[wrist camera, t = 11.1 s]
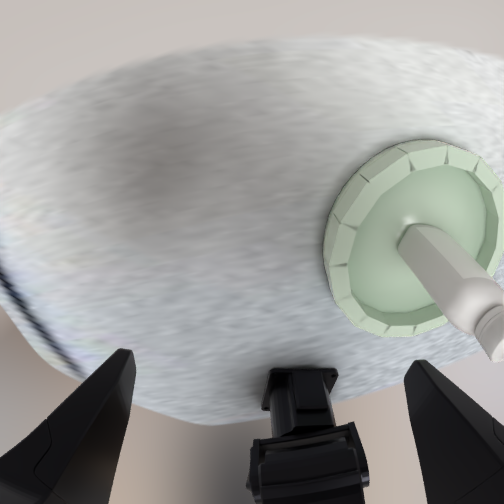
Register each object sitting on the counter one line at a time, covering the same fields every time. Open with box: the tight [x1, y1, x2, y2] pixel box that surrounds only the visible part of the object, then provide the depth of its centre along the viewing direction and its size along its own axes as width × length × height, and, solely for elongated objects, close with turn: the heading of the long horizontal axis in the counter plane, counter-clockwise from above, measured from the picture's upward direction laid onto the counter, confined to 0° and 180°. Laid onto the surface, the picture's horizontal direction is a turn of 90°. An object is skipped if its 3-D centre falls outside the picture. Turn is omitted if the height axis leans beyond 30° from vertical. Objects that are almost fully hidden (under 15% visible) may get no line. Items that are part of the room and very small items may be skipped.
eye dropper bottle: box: [398, 224, 504, 362], centre depth 16 cm, size 4×6×12 cm
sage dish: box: [323, 139, 504, 337], centre depth 21 cm, size 15×15×2 cm
